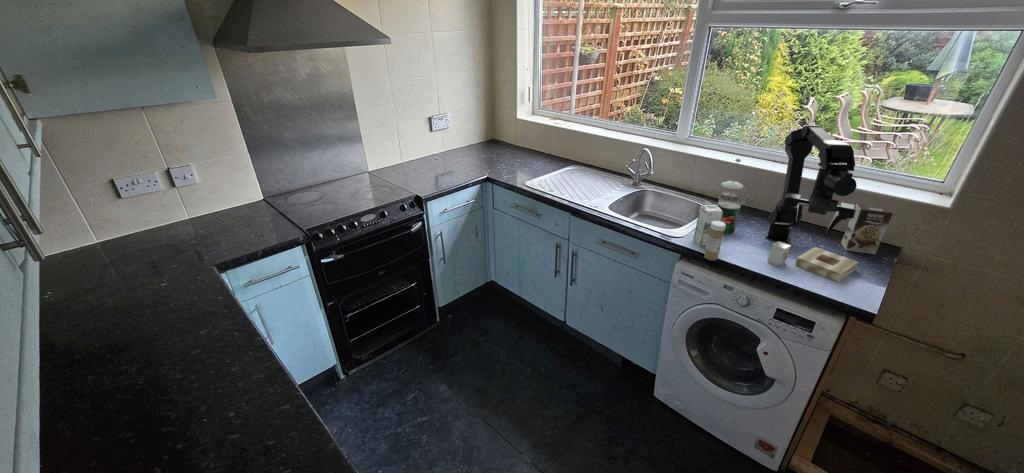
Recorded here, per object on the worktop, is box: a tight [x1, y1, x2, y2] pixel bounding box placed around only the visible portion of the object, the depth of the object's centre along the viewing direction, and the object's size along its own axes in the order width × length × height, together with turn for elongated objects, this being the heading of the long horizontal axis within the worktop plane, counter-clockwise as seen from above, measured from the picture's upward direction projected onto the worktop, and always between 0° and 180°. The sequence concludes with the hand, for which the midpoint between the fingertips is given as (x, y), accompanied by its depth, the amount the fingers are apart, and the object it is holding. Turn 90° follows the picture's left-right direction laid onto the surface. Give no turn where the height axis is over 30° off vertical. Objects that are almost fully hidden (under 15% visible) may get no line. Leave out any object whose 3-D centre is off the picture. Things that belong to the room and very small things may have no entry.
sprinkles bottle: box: [703, 221, 726, 261], centre depth 149 cm, size 5×5×13 cm
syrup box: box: [693, 204, 723, 247], centre depth 158 cm, size 6×6×14 cm
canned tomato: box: [717, 200, 742, 236], centre depth 169 cm, size 8×8×11 cm
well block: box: [794, 246, 859, 283], centre depth 145 cm, size 13×13×3 cm
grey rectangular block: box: [766, 241, 792, 268], centre depth 147 cm, size 4×4×7 cm
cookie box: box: [840, 203, 893, 255], centre depth 153 cm, size 9×6×16 cm
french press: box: [716, 158, 749, 206], centre depth 178 cm, size 10×12×25 cm
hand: (810, 229), depth 141 cm, fingers open, 9 cm apart
